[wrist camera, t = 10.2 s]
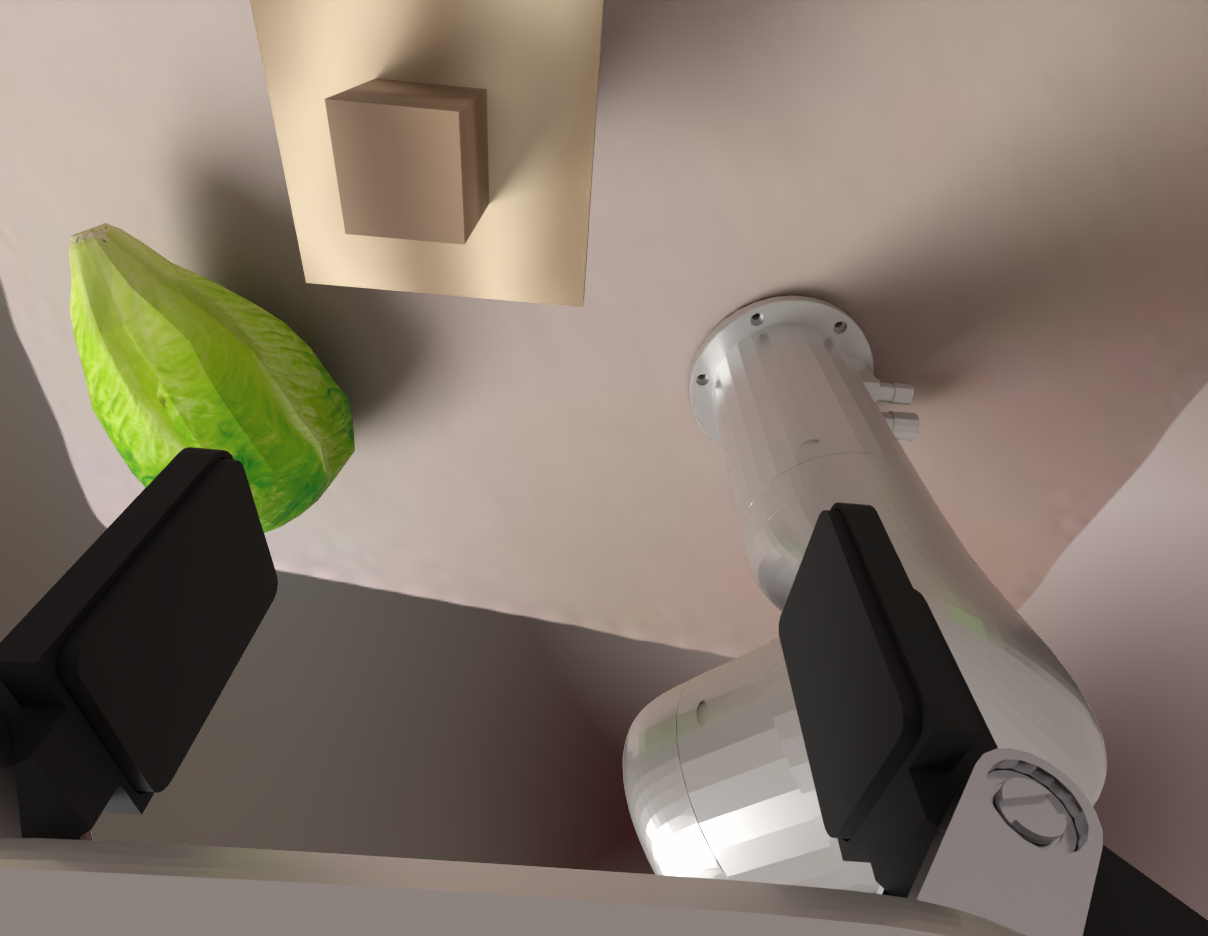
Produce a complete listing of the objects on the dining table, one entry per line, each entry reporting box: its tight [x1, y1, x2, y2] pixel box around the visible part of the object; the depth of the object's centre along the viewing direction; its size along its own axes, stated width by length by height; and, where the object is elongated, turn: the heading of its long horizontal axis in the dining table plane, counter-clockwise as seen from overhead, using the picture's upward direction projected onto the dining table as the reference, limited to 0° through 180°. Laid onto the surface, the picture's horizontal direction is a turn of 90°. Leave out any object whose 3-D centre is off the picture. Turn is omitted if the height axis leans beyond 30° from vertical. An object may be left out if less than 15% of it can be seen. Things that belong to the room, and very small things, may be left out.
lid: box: [250, 0, 604, 307], centre depth 23 cm, size 12×12×6 cm
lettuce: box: [69, 223, 355, 533], centre depth 41 cm, size 14×20×12 cm
